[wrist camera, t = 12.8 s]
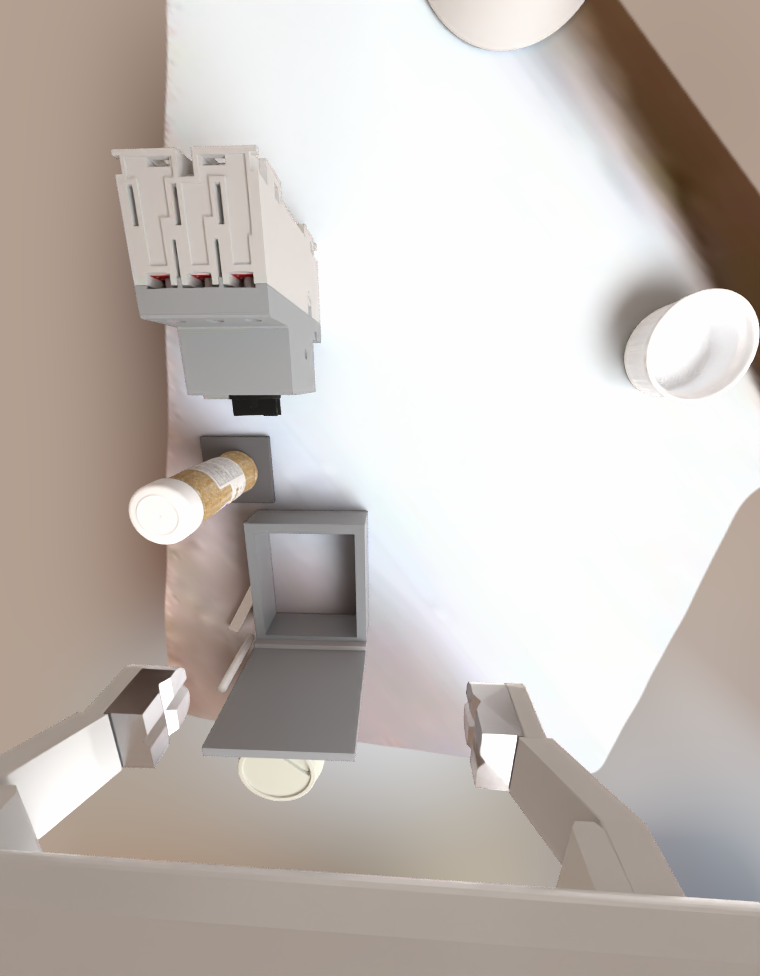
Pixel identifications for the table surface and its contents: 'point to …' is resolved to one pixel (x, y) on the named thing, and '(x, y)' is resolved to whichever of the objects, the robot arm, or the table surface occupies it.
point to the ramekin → (693, 346)
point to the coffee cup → (279, 776)
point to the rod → (242, 612)
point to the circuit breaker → (223, 271)
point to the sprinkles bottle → (190, 497)
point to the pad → (254, 449)
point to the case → (296, 657)
